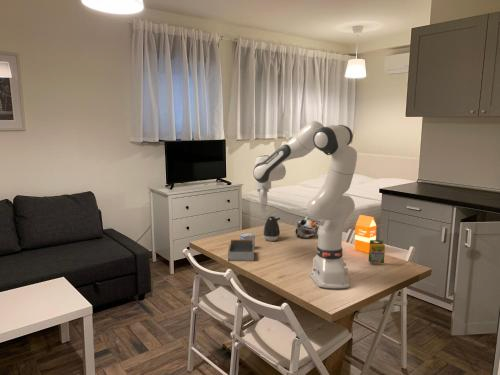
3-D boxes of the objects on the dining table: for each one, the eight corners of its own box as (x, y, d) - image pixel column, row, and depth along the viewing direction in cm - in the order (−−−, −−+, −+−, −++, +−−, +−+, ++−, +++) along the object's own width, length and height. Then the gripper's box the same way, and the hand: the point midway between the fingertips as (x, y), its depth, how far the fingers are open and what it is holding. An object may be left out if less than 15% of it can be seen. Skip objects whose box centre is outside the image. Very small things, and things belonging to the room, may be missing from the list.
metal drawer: (253, 261, 200) (253, 247, 199) (227, 260, 200) (227, 247, 199) (253, 252, 213) (253, 239, 212) (229, 252, 213) (229, 239, 212)
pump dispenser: (280, 242, 233) (280, 218, 230) (263, 242, 233) (263, 218, 231) (279, 237, 243) (279, 214, 241) (263, 237, 243) (263, 214, 241)
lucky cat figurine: (319, 233, 249) (320, 214, 244) (317, 243, 239) (319, 223, 233) (296, 231, 253) (297, 212, 247) (293, 240, 242) (295, 220, 236)
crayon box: (370, 263, 197) (371, 241, 196) (368, 261, 200) (369, 239, 198) (384, 263, 197) (385, 241, 195) (382, 261, 200) (383, 240, 198)
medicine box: (250, 247, 224) (250, 232, 222) (254, 248, 220) (255, 234, 219) (239, 249, 219) (239, 235, 217) (244, 251, 215) (244, 236, 214)
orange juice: (367, 252, 214) (369, 218, 211) (354, 249, 220) (355, 215, 217) (375, 250, 219) (377, 216, 216) (361, 246, 225) (363, 213, 222)
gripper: (270, 187, 195) (270, 214, 197) (267, 182, 215) (267, 206, 217) (257, 188, 195) (257, 214, 197) (256, 183, 215) (256, 207, 217)
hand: (263, 210), depth 207 cm, fingers open, 8 cm apart
